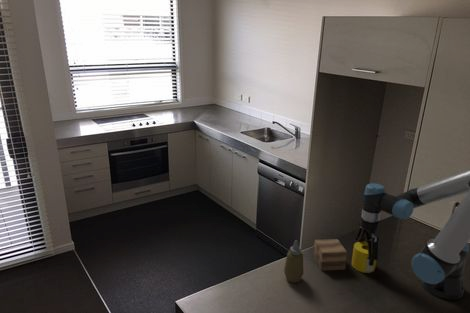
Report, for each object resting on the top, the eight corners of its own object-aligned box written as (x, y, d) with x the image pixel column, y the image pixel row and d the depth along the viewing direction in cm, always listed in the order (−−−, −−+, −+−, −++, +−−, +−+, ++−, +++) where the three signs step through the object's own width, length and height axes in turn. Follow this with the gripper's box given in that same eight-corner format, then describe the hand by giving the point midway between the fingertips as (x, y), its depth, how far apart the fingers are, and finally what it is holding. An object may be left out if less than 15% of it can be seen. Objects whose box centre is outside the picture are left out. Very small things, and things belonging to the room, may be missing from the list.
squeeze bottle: (306, 278, 152) (310, 241, 146) (295, 287, 146) (299, 248, 141) (290, 270, 157) (293, 233, 152) (279, 278, 151) (282, 240, 146)
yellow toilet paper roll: (346, 262, 164) (349, 244, 161) (363, 257, 168) (366, 239, 165) (362, 274, 155) (365, 255, 153) (379, 269, 159) (383, 250, 157)
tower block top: (345, 261, 158) (347, 252, 157) (321, 261, 157) (322, 252, 155) (336, 247, 168) (337, 239, 167) (313, 248, 167) (314, 239, 166)
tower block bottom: (345, 270, 159) (346, 261, 158) (320, 270, 158) (321, 262, 157) (336, 256, 169) (337, 247, 168) (313, 256, 168) (314, 248, 167)
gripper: (392, 231, 144) (383, 278, 151) (366, 207, 166) (360, 249, 172) (374, 231, 144) (366, 279, 150) (351, 207, 165) (345, 250, 172)
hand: (363, 263), depth 161 cm, fingers closed on yellow toilet paper roll, 10 cm apart
